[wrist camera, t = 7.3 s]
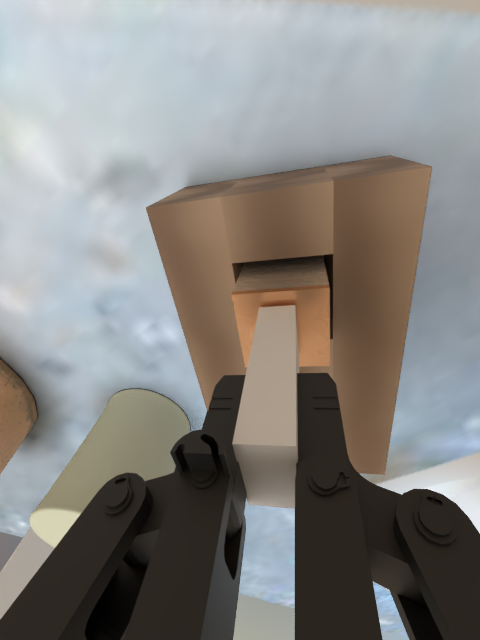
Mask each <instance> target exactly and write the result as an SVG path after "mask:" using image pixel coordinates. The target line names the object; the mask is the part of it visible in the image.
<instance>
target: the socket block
mask: <svg viewBox="0 0 480 640" xmlns="http://www.w3.org/2000/svg"><path fill="white" fill-rule="evenodd" d="M431 171H432V167H431V166H428V165H424V164H420V163H416V162H413V161H409V160H405V159H401V158H398V157H394V156H385V157H379V158H372V159H366V160H359V161H353V162H346V163H340V164H333V165H327V166H320V167H314V168H307V169H301V170H294V171H288V172H282V173H275V174H269V175H262V176H256V177H249V178H243V179H236V180H230V181H223V182H217V183H210V184H204V185H197V186H191V187H185V188H183V189H181V190H179V191H177V192H175V193H173V194H172V195H170V196H168V197H166V198H164V199H162V200H160V201H158V202H156V203H154V204H152V205H150V206H148V207H146V210H147V213H148V217H149V220H150V223H151V226H152V230H153V233H154V236H155V240H156V243H157V246H158V250H159V253H160V256H161V259H162V263H163V266H164V269H165V273H166V276H167V279H168V283H169V286H170V289H171V293H172V296H173V299H174V302H175V306H176V309H177V312H178V316H179V319H180V322H181V326H182V329H183V332H184V335H185V339H186V342H187V345H188V349H189V352H190V355H191V359H192V362H193V365H194V369H195V372H196V375H197V378H198V382H199V385H200V388H201V392H202V395H203V398H204V402H205V405H206V408H207V411H208V410H209V404H210V401H211V400H212V395H213V391H214V388H215V385H216V384H217V383H218V382H219V381H220V379H221V378H222V377H223V376H224V375H246V371H247V367H245V364H244V358H243V353H242V348H241V343H240V337H239V332H238V327H237V322H236V316H235V311H234V306H233V301H232V292H233V290H234V287H235V284H236V282H237V279H238V277H239V274H240V272H241V269H242V267H243V264H244V262H253V261H264V260H274V259H285V258H296V257H306V256H317V255H324V263H325V268H326V273H327V277H328V282H329V287H330V366H303V367H299V373H328V374H329V375H330V376H331V378H332V379H333V380H334V382H335V383H336V386H337V392H338V400H339V404H340V411H341V416H342V422H343V429H344V435H345V441H346V447H347V453H348V456H349V460H350V462H351V464H352V465H353V467H354V469H355V470H356V471H357V472H358V473H367V474H384V475H385V469H386V463H387V456H388V450H389V443H390V437H391V430H392V424H393V417H394V411H395V404H396V398H397V391H398V385H399V378H400V372H401V365H402V359H403V352H404V346H405V339H406V333H407V326H408V320H409V313H410V307H411V300H412V294H413V288H414V281H415V275H416V268H417V262H418V255H419V249H420V242H421V236H422V229H423V223H424V216H425V210H426V203H427V197H428V190H429V184H430V177H431Z"/></svg>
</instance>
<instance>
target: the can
mask: <svg viewBox="0 0 480 640" xmlns="http://www.w3.org/2000/svg"><path fill="white" fill-rule="evenodd" d="M188 433H190V424H189V420H188V418H187V416H186V415H185V413H184V412H183V410H182V409H181V408H180V407H179V406H178V405H177V404H175V403H174V402H173V401H171V400H170V399H168V398H166V397H165V396H162V395H160V394H158V393H155V392H152V391H148V390H143V389H127V390H123V391H120V392H118V393H116V394H115V395H114V396H112V397H111V399H110V400H109V402H108V404H107V407H106V408H105V410H104V411H103V413H102V415H101V416H100V418H99V419H98V421H97V422H96V424H95V425H94V427H93V428H92V430H91V431H90V433H89V434H88V435H87V437H86V438H85V440H84V441H83V443H82V444H81V446H80V447H79V449H78V450H77V452H76V453H75V454H74V456H73V457H72V459H71V460H70V462H69V463H68V465H67V466H66V467H65V469H64V470H63V472H62V473H61V475H60V476H59V478H58V479H57V480H56V482H55V483H54V485H53V486H52V488H51V489H50V490H49V492H48V493H47V495H46V496H45V497H44V499H43V500H42V502H41V503H40V504H39V506H38V507H37V508H36V510H35V511H34V512H33V513H32V514H31V516H30V520H29V521H30V525H31V527H32V529H33V531H34V532H35V533H36V534H37V535H38V536H39V537H40V538H41V539H42V540H44V541H45V542H46V543H48V544H49V545H51V546H52V547H54V548H55V547H56V546H57V544H58V543H59V542H60V541H61V539H62V538H63V537H64V535H65V534H66V533H67V531H68V530H69V529H70V527H71V526H72V525H73V524H74V522H75V521H76V520H77V518H78V517H79V516H80V514H81V513H82V512H83V510H84V509H85V508H86V506H87V505H88V504H89V503H90V501H91V500H92V499H93V497H94V496H95V495H96V493H97V492H98V491H99V490H100V489H101V488H102V487H103V486H104V484H105V483H106V482H107V481H109V480H111V479H112V478H114V477H115V476H117V475H120V474H124V473H127V472H128V473H137V474H138V475H139V476H141V477H142V478H143V479H144V481H147V480H151V479H154V478H158V477H161V476H165V475H168V474H171V473H173V472H174V470H175V467H176V465H175V463H174V460H173V458H172V456H171V454H170V451H171V450H172V448H173V446H174V445H175V443H176V442H177V441H178V440H179V439H180V438H182V437H183V436H184V435H186V434H188Z"/></svg>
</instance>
